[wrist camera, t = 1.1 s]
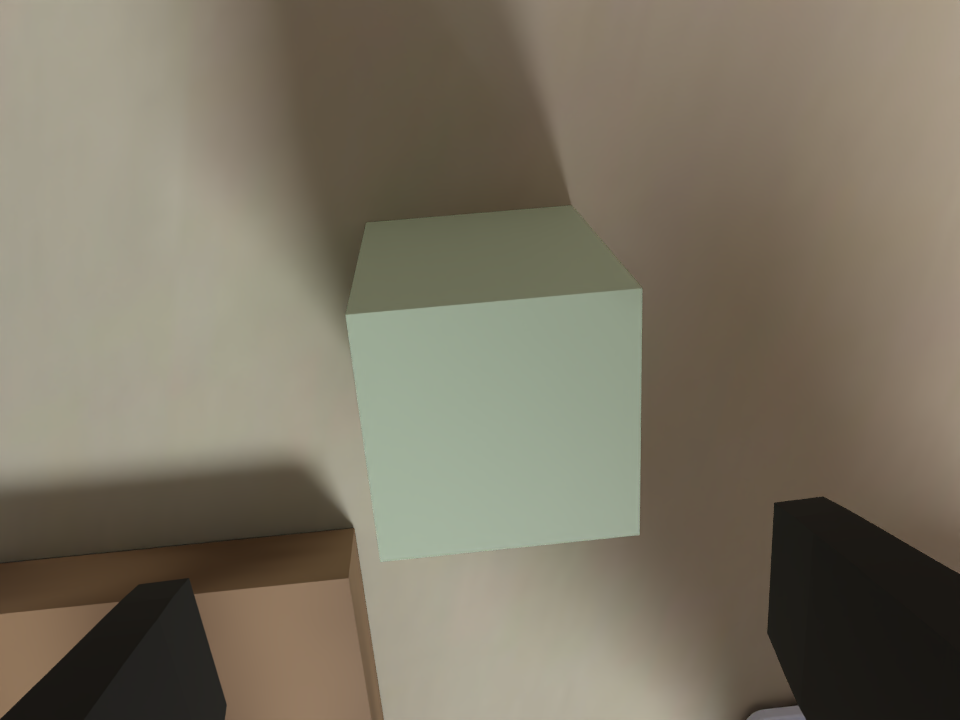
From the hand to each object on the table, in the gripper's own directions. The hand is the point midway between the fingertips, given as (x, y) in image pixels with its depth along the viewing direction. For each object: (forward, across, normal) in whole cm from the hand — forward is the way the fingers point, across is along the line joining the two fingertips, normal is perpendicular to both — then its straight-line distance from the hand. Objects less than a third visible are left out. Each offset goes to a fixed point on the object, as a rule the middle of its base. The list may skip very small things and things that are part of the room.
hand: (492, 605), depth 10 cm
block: (+10, 0, 0) cm, 10 cm away
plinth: (+9, +8, +9) cm, 15 cm away
